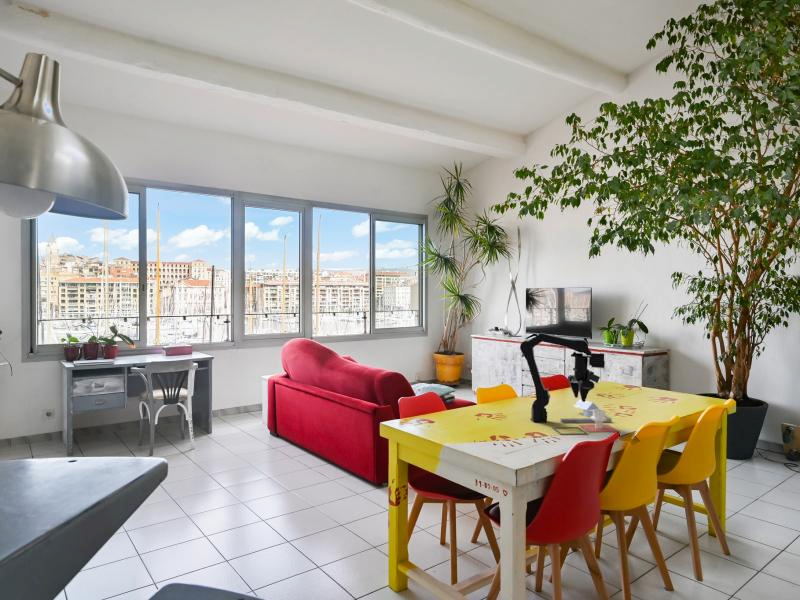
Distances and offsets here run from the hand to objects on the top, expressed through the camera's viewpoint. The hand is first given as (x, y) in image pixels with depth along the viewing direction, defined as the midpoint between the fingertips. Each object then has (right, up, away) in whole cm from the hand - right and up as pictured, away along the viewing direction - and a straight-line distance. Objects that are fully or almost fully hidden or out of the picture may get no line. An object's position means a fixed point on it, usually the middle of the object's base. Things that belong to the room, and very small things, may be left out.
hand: (579, 399), depth 247 cm
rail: (+4, -12, +4) cm, 13 cm away
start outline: (-9, -12, -13) cm, 19 cm away
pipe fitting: (+6, -12, -8) cm, 15 cm away
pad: (+6, -12, -8) cm, 15 cm away
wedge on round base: (+12, -12, +20) cm, 26 cm away
